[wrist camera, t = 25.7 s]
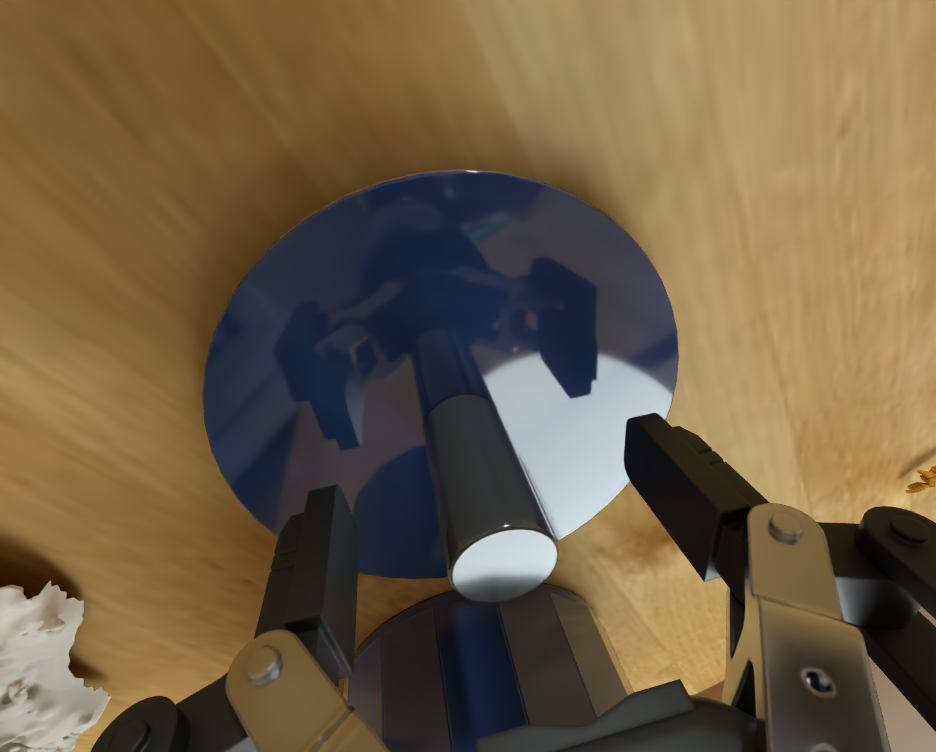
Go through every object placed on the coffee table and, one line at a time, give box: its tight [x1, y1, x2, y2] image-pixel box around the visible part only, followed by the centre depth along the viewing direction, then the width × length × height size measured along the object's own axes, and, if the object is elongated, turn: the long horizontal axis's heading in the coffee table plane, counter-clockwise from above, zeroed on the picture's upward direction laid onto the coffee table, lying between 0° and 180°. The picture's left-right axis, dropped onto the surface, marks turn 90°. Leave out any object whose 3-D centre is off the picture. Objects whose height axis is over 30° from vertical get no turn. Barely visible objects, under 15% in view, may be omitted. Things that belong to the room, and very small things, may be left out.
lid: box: [202, 169, 679, 603], centre depth 12 cm, size 14×14×6 cm
